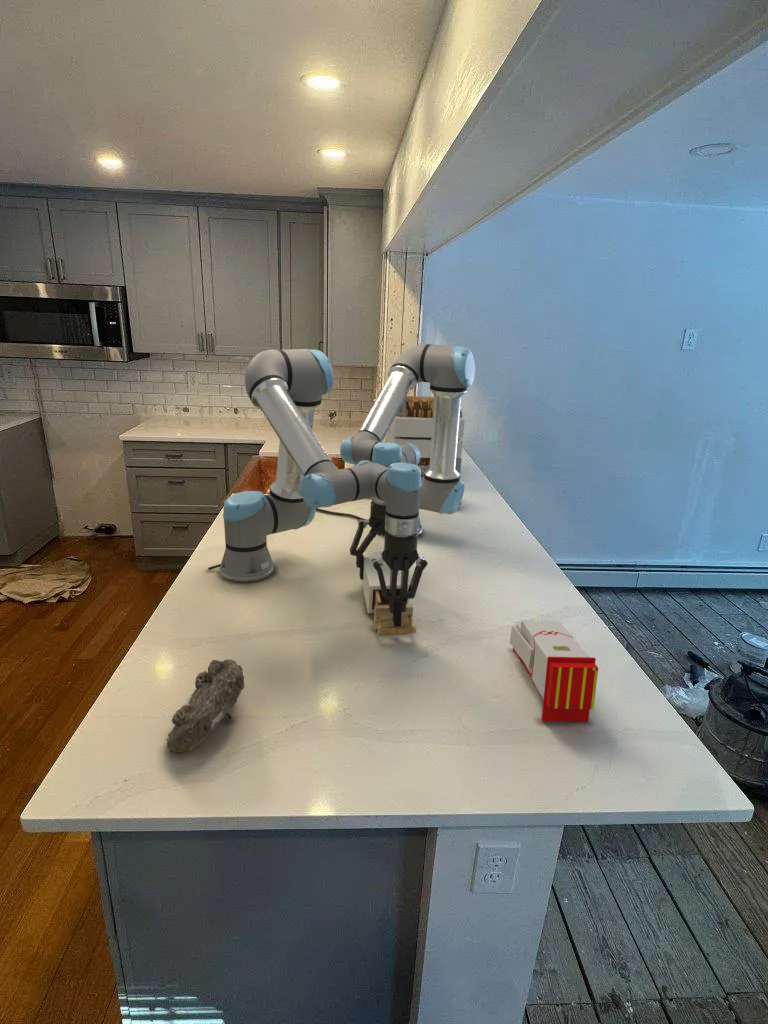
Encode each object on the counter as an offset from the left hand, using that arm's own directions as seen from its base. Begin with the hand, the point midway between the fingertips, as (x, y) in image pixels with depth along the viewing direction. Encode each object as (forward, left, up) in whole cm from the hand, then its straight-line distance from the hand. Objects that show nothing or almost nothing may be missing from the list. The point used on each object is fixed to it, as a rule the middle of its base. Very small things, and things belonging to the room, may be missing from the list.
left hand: (396, 623), depth 136 cm
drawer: (-4, +8, -3) cm, 9 cm away
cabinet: (-9, +18, -3) cm, 20 cm away
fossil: (-25, -39, -4) cm, 47 cm away
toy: (+35, -4, -4) cm, 35 cm away
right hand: (-11, +21, 0) cm, 24 cm away
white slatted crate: (-31, +144, -4) cm, 147 cm away
